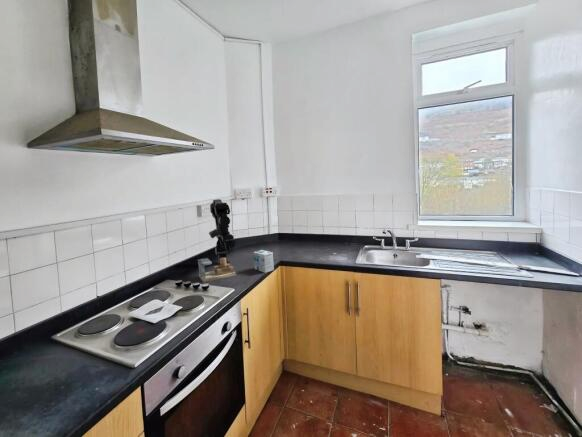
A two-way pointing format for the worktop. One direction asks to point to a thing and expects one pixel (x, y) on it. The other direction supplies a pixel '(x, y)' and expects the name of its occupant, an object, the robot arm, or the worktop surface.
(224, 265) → the peg
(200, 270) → the awning socket
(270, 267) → the light bulb box
